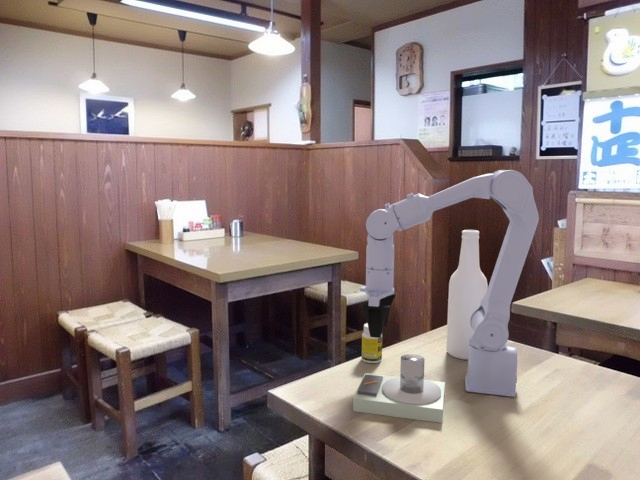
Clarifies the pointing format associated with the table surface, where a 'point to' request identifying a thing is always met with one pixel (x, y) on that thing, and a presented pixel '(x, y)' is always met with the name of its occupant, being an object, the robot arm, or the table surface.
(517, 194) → the robot arm
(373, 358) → the supplement bottle
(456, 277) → the alcohol
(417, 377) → the cylinder
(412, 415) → the scale
